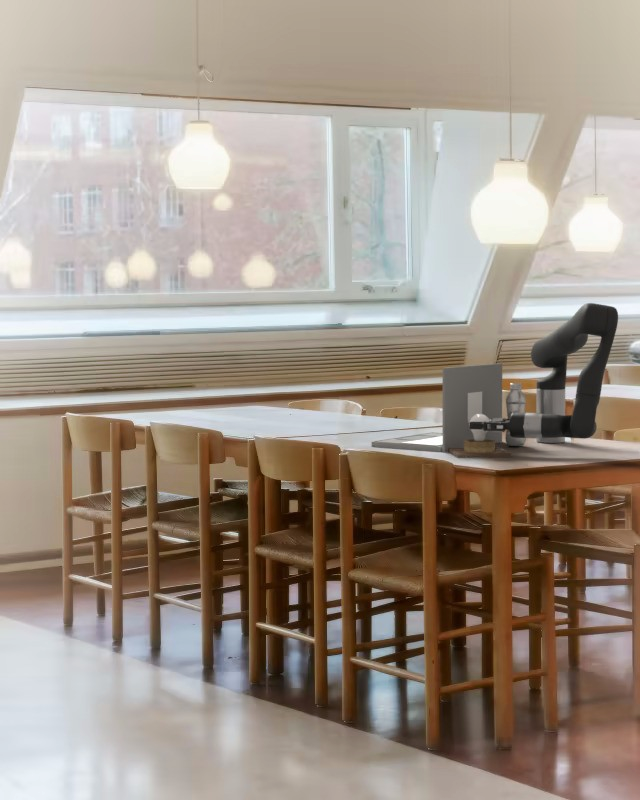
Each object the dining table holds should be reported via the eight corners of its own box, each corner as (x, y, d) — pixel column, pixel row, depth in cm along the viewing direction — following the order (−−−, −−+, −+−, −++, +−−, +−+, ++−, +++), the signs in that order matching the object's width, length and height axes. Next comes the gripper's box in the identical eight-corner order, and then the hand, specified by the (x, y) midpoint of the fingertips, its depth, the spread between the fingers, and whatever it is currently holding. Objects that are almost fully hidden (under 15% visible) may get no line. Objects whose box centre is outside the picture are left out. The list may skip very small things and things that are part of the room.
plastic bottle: (523, 445, 414) (524, 382, 413) (527, 447, 407) (528, 383, 406) (503, 445, 414) (503, 382, 412) (507, 447, 407) (507, 384, 406)
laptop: (431, 438, 441) (431, 361, 439) (502, 443, 424) (503, 363, 422) (371, 447, 413) (371, 365, 411) (444, 453, 396) (445, 368, 394)
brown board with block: (448, 451, 398) (448, 438, 398) (500, 450, 399) (500, 437, 399) (457, 457, 382) (457, 444, 382) (511, 456, 383) (511, 443, 383)
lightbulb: (475, 453, 388) (476, 417, 385) (464, 448, 393) (465, 413, 391) (493, 451, 390) (494, 415, 388) (482, 446, 396) (483, 411, 394)
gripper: (530, 410, 392) (476, 409, 397) (523, 414, 379) (467, 413, 384) (530, 435, 393) (476, 434, 398) (523, 440, 379) (467, 439, 384)
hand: (472, 424), depth 391 cm, fingers open, 7 cm apart
